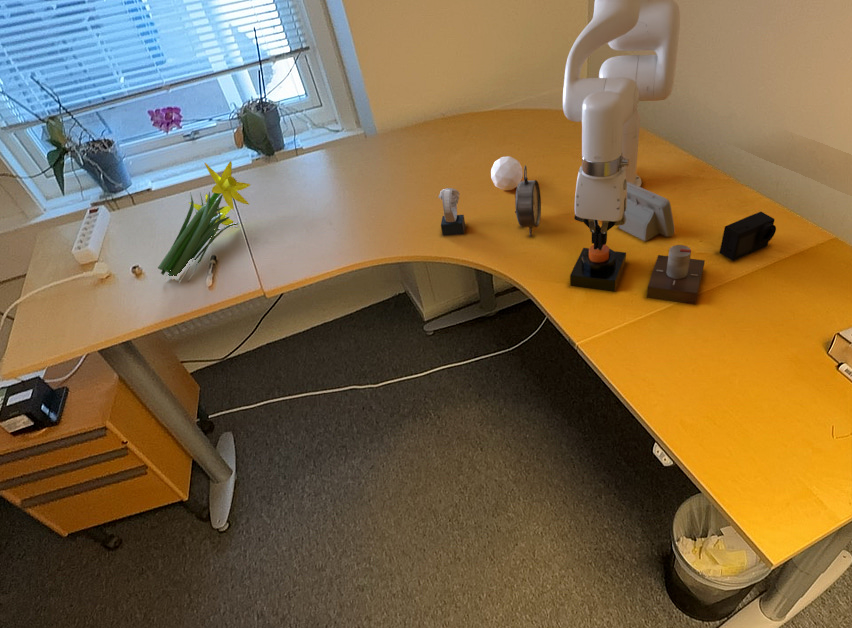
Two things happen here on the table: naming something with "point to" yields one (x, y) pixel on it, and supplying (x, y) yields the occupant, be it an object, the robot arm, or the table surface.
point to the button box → (598, 271)
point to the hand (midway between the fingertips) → (599, 246)
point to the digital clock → (647, 214)
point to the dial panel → (675, 282)
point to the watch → (451, 213)
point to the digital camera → (747, 236)
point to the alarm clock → (528, 203)
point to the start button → (599, 254)
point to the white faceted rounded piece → (506, 173)
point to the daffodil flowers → (204, 222)
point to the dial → (678, 261)
